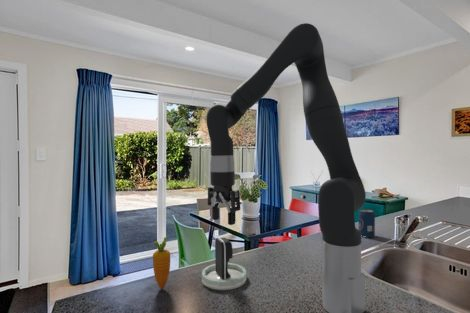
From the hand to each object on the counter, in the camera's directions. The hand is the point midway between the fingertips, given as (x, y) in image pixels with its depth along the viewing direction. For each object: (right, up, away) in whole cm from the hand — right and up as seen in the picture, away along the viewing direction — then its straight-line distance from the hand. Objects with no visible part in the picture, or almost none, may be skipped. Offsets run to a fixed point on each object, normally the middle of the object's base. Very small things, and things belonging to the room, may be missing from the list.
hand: (223, 222), depth 89 cm
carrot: (-18, -19, -6) cm, 26 cm away
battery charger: (0, -17, +1) cm, 17 cm away
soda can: (+65, -17, +44) cm, 80 cm away
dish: (0, -18, +1) cm, 18 cm away
